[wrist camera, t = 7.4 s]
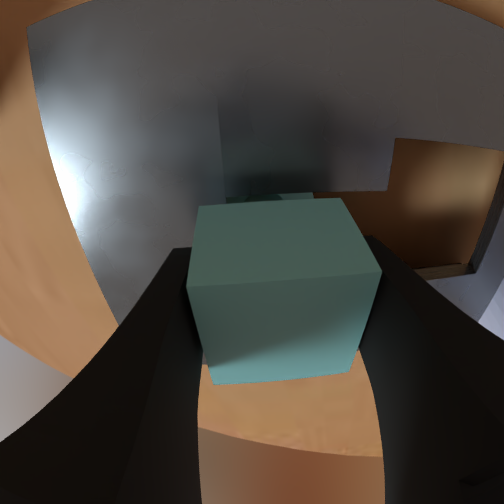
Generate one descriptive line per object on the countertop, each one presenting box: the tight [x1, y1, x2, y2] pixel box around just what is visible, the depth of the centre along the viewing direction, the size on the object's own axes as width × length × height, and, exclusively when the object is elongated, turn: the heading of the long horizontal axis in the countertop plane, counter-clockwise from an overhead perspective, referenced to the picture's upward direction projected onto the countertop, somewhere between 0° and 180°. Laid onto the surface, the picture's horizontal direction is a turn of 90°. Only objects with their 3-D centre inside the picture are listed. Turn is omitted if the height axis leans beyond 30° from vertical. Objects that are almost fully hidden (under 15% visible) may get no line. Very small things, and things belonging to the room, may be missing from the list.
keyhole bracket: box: [27, 0, 504, 364], centre depth 12 cm, size 20×16×4 cm
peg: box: [186, 192, 382, 385], centre depth 11 cm, size 4×4×8 cm
